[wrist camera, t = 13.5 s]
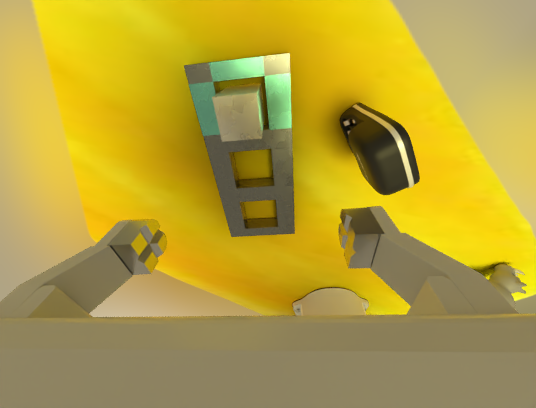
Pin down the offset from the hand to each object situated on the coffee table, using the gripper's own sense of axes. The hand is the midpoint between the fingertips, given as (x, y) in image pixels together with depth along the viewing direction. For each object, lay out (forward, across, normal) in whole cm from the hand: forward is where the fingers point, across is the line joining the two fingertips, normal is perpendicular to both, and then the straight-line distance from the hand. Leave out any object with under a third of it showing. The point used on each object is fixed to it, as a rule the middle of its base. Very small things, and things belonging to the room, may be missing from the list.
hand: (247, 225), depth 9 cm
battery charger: (+22, -11, +3) cm, 25 cm away
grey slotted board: (+21, +3, +6) cm, 22 cm away
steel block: (+21, +2, -2) cm, 22 cm away
